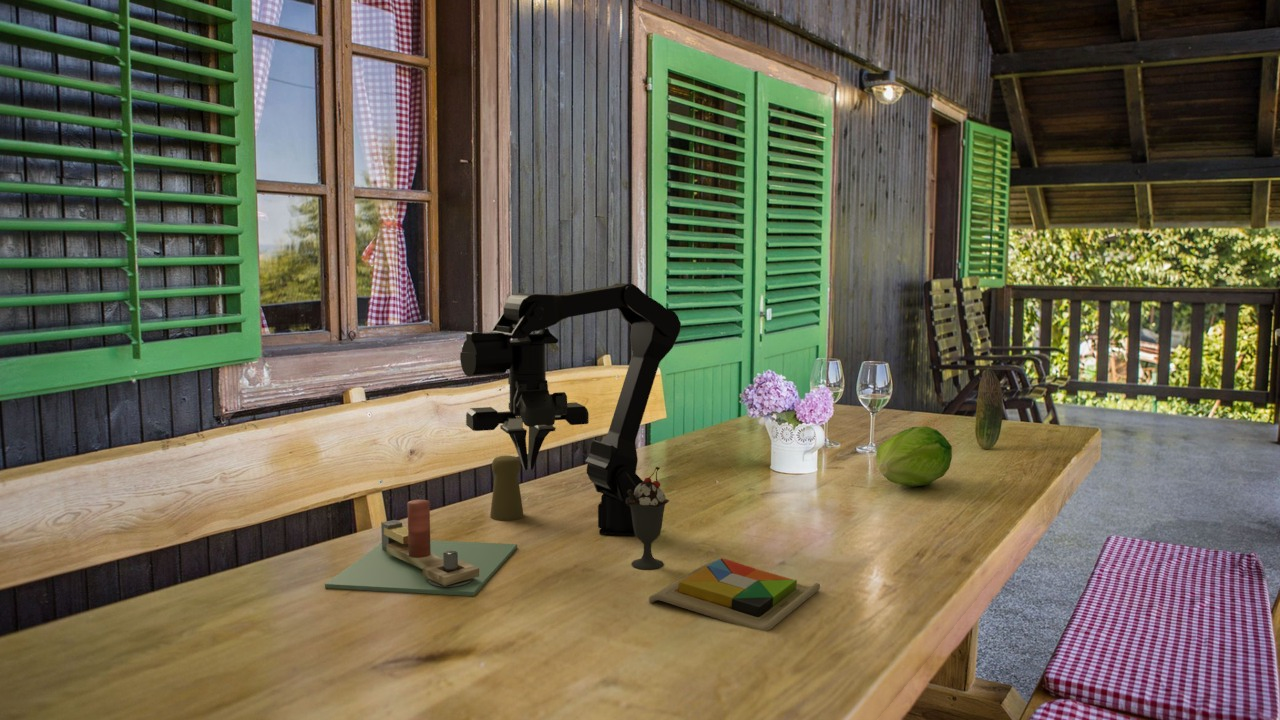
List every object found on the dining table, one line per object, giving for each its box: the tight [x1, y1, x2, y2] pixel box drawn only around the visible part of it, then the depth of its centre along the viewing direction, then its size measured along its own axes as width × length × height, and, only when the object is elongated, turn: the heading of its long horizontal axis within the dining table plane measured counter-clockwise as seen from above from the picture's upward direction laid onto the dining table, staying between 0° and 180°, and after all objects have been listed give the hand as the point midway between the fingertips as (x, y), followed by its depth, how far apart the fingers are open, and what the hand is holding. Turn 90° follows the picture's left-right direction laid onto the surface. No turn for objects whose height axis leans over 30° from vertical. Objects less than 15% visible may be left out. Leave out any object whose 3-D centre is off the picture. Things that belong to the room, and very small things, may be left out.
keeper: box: [380, 519, 408, 552], centre depth 147 cm, size 8×3×5 cm, turn 41°
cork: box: [489, 455, 525, 521], centre depth 170 cm, size 6×6×11 cm
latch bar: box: [386, 499, 479, 586], centre depth 139 cm, size 19×6×9 cm, turn 44°
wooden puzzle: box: [648, 557, 821, 632], centre depth 130 cm, size 18×19×4 cm
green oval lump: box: [875, 426, 953, 487], centre depth 191 cm, size 14×20×12 cm
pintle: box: [428, 551, 474, 588], centre depth 135 cm, size 6×6×5 cm
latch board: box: [324, 539, 518, 597], centre depth 143 cm, size 22×22×1 cm
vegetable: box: [974, 367, 1004, 450], centre depth 230 cm, size 6×6×20 cm
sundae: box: [626, 466, 670, 571], centre depth 143 cm, size 7×7×15 cm
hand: (528, 469), depth 150 cm, fingers closed
